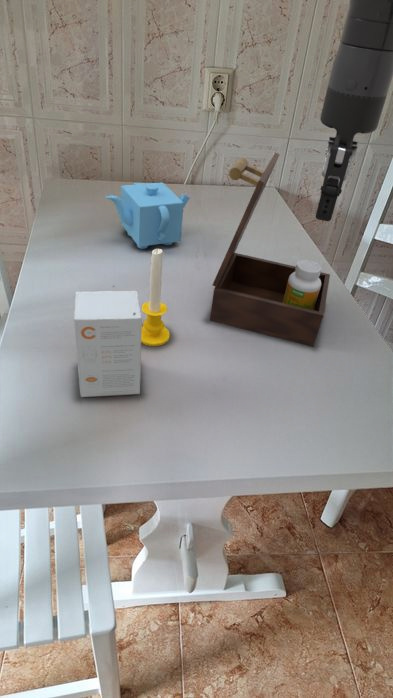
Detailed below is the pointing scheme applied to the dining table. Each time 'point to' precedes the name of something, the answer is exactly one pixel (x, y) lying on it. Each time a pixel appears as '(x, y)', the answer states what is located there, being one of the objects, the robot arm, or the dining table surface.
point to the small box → (108, 342)
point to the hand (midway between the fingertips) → (325, 208)
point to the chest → (265, 301)
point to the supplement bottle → (303, 285)
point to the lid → (260, 184)
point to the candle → (154, 306)
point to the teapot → (150, 213)
